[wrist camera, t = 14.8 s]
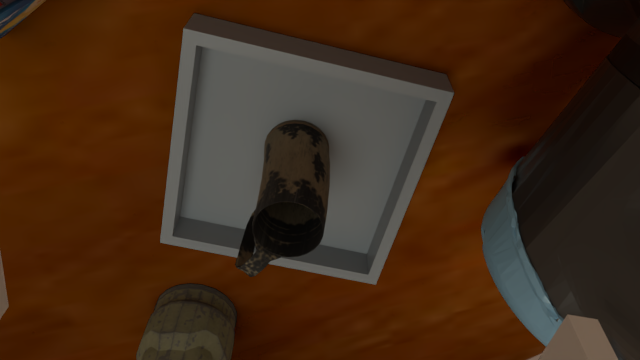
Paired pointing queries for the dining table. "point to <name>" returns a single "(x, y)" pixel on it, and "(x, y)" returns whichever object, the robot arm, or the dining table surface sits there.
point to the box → (307, 105)
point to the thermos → (190, 325)
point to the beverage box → (15, 13)
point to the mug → (288, 197)
